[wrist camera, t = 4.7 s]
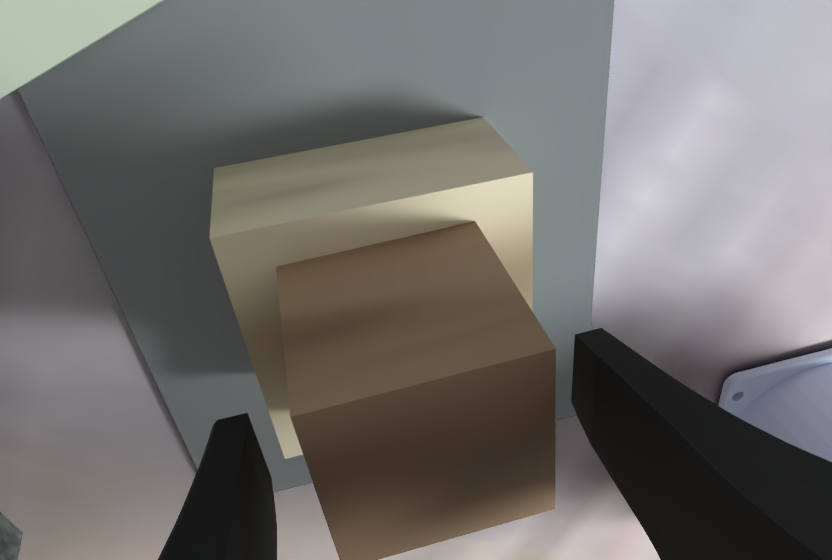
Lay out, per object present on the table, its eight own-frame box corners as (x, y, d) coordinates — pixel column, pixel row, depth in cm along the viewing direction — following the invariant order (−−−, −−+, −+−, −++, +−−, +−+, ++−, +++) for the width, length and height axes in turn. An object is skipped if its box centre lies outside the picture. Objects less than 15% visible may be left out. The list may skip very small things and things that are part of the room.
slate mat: (580, 407, 25) (584, 412, 25) (215, 500, 23) (215, 507, 23) (618, -152, 14) (625, -152, 14) (-47, -60, 13) (-52, -58, 12)
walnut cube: (486, 366, 17) (554, 508, 13) (319, 409, 16) (343, 569, 13) (475, 220, 14) (555, 348, 11) (276, 266, 14) (289, 416, 10)
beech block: (492, 322, 21) (532, 397, 18) (277, 371, 20) (284, 459, 17) (483, 116, 17) (532, 172, 14) (213, 168, 16) (209, 237, 13)
